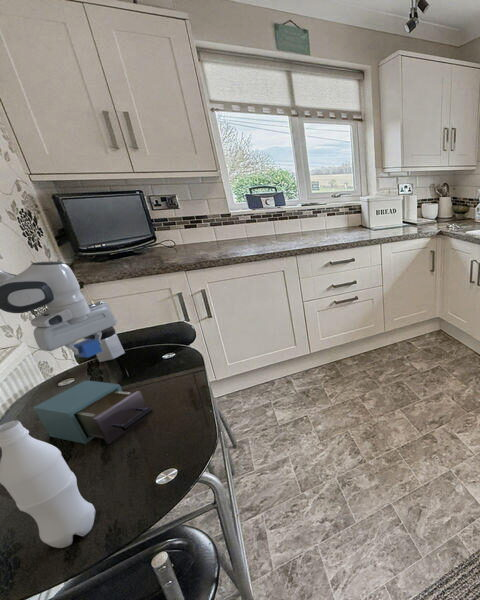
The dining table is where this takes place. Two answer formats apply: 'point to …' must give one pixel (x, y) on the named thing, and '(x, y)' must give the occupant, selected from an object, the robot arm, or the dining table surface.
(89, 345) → the blue cube
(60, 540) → the water bottle
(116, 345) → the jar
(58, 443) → the dining table surface
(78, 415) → the purple drawer
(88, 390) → the drawer cabinet
